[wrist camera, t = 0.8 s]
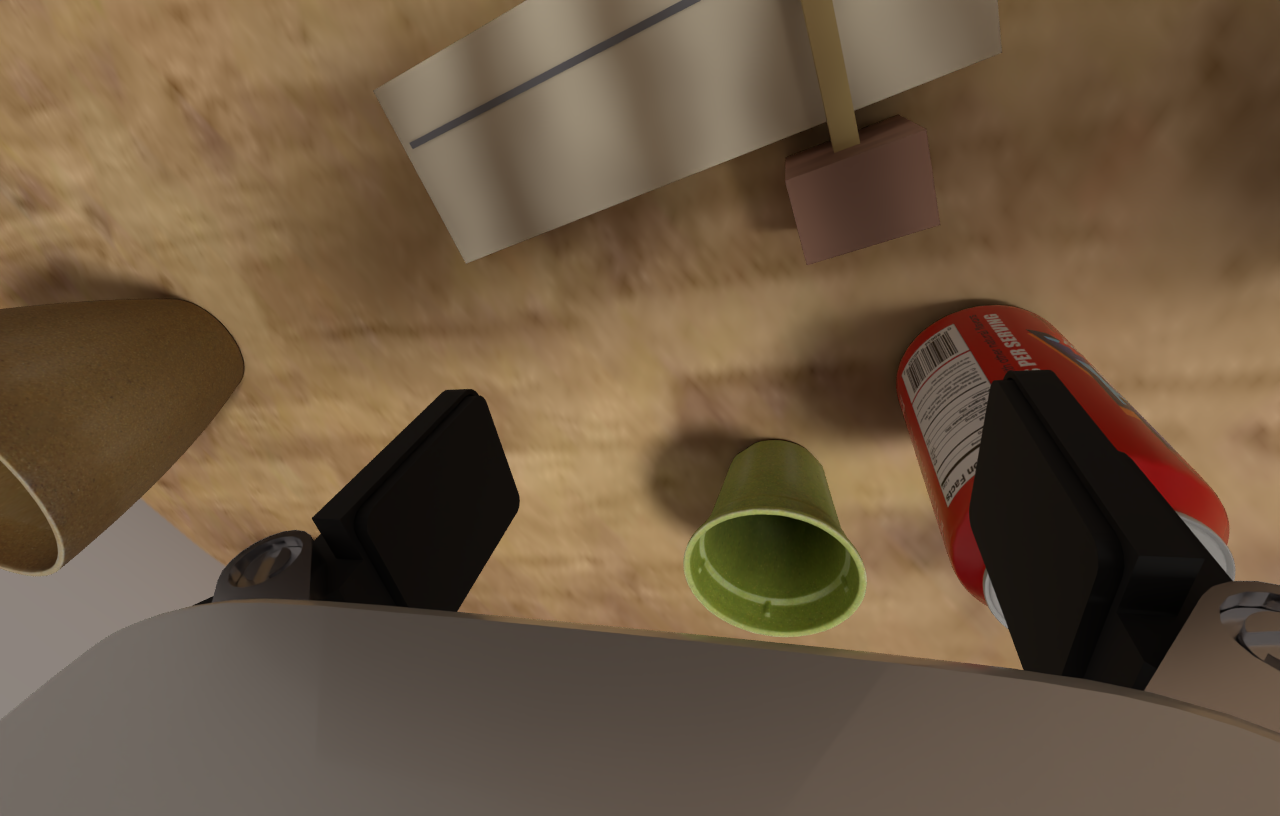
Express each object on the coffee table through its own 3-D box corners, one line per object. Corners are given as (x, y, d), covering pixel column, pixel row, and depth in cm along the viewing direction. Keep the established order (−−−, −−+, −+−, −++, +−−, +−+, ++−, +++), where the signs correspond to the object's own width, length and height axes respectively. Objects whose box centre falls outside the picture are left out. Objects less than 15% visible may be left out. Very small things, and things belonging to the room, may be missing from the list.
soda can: (906, 296, 29) (996, 479, 16) (1082, 298, 27) (1333, 506, 14) (882, 423, 33) (938, 647, 20) (1033, 433, 31) (1195, 684, 19)
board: (958, -237, 19) (975, -267, 17) (986, 53, 23) (1002, 52, 21) (396, 88, 29) (371, 91, 27) (482, 253, 33) (465, 264, 31)
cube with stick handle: (865, -89, 21) (888, -132, 16) (911, 192, 26) (940, 224, 21) (739, -24, 23) (726, -45, 18) (803, 228, 28) (806, 265, 23)
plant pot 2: (703, 521, 40) (684, 623, 33) (703, 410, 35) (681, 501, 28) (840, 536, 38) (852, 648, 31) (861, 420, 33) (881, 522, 26)
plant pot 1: (228, 239, 36) (-94, 345, 23) (318, 429, 44) (116, 591, 31) (62, 248, 40) (-298, 343, 26) (173, 422, 47) (-64, 564, 34)
